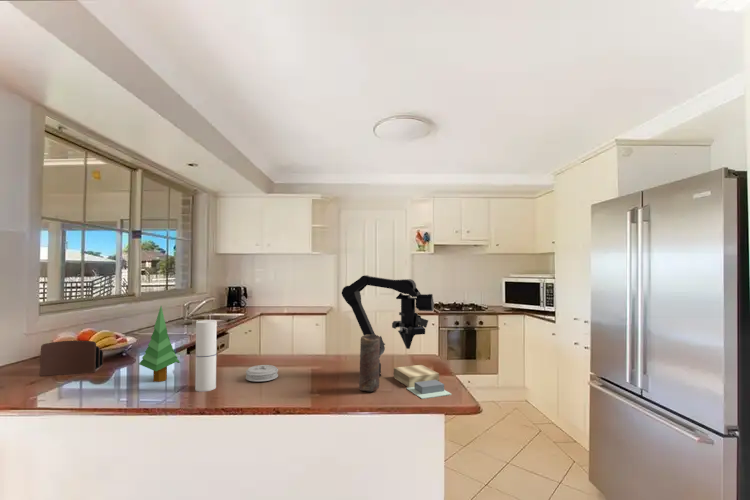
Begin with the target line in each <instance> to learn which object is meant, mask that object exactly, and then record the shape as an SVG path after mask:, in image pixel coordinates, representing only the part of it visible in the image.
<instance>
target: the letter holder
mask: <svg viewBox="0 0 750 500" xmlns="http://www.w3.org/2000/svg"><path fill="white" fill-rule="evenodd" d="M39 364H40V365H39V377H50V376H64V375H77V374H78V375H79V374H91V373H92V374H94V373H97V371H99V370H101V369H102V368H103V367H104V351H103V349H100V346H98V345H97V343H96V341H91V340H60V341H53V342H46V343H43V344H41V346H40V363H39Z"/></svg>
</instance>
